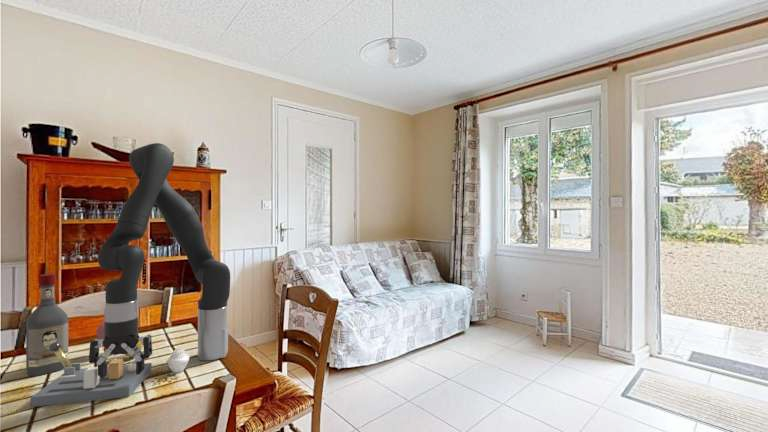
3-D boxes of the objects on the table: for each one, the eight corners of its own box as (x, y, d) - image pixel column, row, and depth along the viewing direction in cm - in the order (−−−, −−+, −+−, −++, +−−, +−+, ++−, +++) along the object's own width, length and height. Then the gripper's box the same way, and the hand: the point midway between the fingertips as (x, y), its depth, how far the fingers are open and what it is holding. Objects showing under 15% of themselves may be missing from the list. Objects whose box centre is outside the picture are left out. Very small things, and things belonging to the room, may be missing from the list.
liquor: (25, 369, 111) (25, 274, 111) (64, 360, 118) (64, 271, 118) (28, 378, 105) (28, 278, 105) (69, 368, 112) (69, 274, 112)
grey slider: (99, 382, 98) (99, 366, 98) (94, 387, 95) (94, 371, 95) (89, 383, 97) (89, 367, 97) (83, 388, 94) (83, 372, 94)
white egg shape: (168, 368, 114) (168, 346, 114) (190, 364, 116) (190, 343, 116) (165, 376, 108) (165, 353, 108) (188, 372, 111) (188, 350, 111)
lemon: (132, 361, 118) (132, 337, 118) (118, 360, 119) (118, 336, 119) (146, 355, 123) (146, 332, 123) (133, 353, 125) (133, 331, 124)
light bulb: (91, 356, 122) (91, 321, 122) (114, 348, 128) (114, 316, 128) (104, 359, 119) (104, 324, 119) (126, 352, 126) (126, 318, 126)
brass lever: (77, 364, 106) (60, 339, 105) (72, 368, 104) (54, 342, 102) (68, 369, 106) (50, 344, 104) (63, 373, 103) (44, 347, 102)
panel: (151, 370, 112) (151, 356, 112) (129, 396, 96) (129, 380, 96) (68, 378, 106) (68, 363, 106) (30, 406, 91) (30, 389, 91)
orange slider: (123, 374, 103) (123, 358, 103) (118, 378, 100) (118, 362, 100) (113, 374, 103) (113, 359, 102) (108, 379, 100) (108, 363, 100)
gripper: (155, 311, 103) (155, 366, 103) (98, 314, 99) (98, 371, 100) (145, 319, 96) (145, 378, 96) (83, 323, 92) (83, 384, 92)
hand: (121, 375), depth 98 cm, fingers open, 8 cm apart
